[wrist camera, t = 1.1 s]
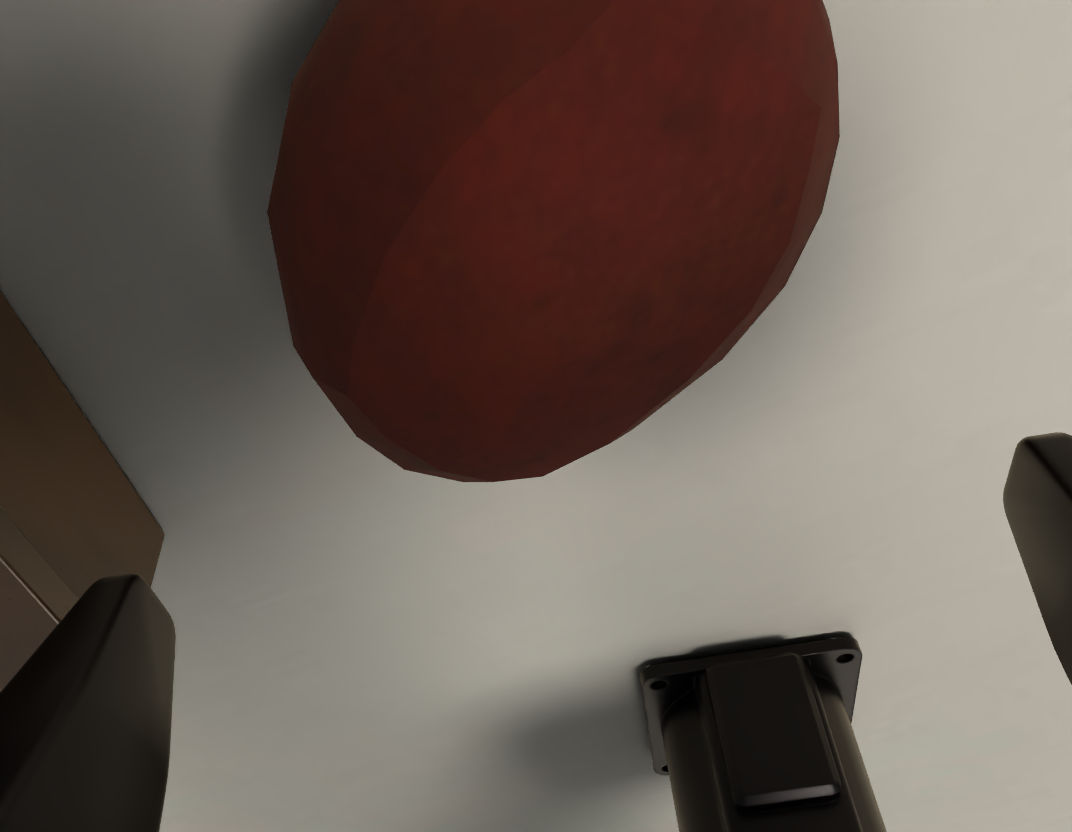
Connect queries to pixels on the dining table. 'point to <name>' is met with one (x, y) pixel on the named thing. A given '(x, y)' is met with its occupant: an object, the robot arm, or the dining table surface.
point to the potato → (542, 212)
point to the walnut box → (56, 502)
